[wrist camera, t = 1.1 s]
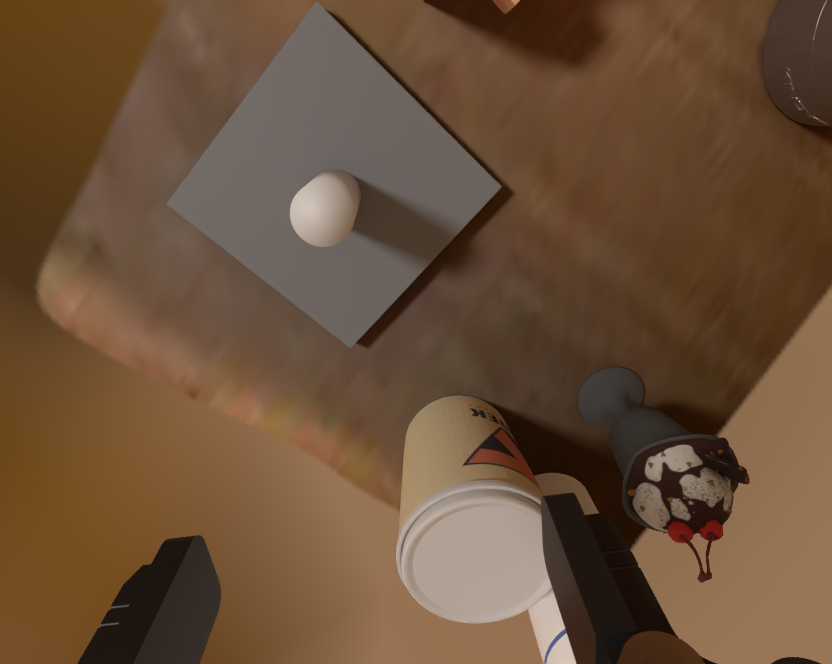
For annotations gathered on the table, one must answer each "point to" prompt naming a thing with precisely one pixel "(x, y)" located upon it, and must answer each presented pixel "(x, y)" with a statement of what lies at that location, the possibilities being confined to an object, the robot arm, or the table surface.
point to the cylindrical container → (546, 611)
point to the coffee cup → (469, 515)
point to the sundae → (663, 462)
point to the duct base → (349, 135)
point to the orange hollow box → (505, 4)
